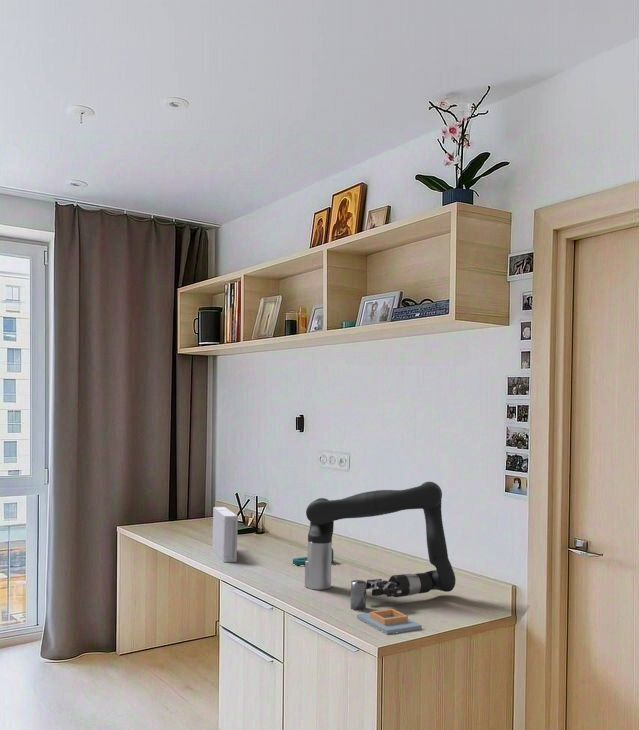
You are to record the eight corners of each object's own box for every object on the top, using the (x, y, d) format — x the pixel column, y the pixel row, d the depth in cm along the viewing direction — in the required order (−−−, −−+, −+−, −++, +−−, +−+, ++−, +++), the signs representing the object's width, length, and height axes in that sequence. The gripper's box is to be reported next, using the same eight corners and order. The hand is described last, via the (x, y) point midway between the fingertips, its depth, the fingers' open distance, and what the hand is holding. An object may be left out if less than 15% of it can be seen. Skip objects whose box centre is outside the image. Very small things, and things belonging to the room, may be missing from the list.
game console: (223, 562, 315) (224, 516, 316) (211, 550, 341) (212, 507, 342) (236, 562, 317) (237, 516, 318) (223, 549, 343) (225, 506, 344)
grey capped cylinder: (348, 609, 250) (348, 582, 250) (354, 605, 254) (354, 578, 255) (362, 611, 247) (362, 584, 248) (368, 607, 252) (368, 580, 252)
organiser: (356, 618, 239) (356, 608, 240) (390, 613, 245) (390, 604, 246) (386, 634, 224) (386, 624, 224) (421, 629, 230) (421, 619, 230)
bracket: (325, 560, 326) (325, 542, 326) (333, 563, 320) (333, 545, 321) (289, 564, 317) (290, 545, 317) (297, 567, 311) (297, 548, 311)
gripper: (393, 570, 267) (355, 574, 259) (416, 579, 254) (377, 583, 246) (393, 590, 266) (355, 595, 259) (416, 600, 254) (376, 606, 246)
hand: (365, 589), depth 253 cm, fingers open, 8 cm apart
